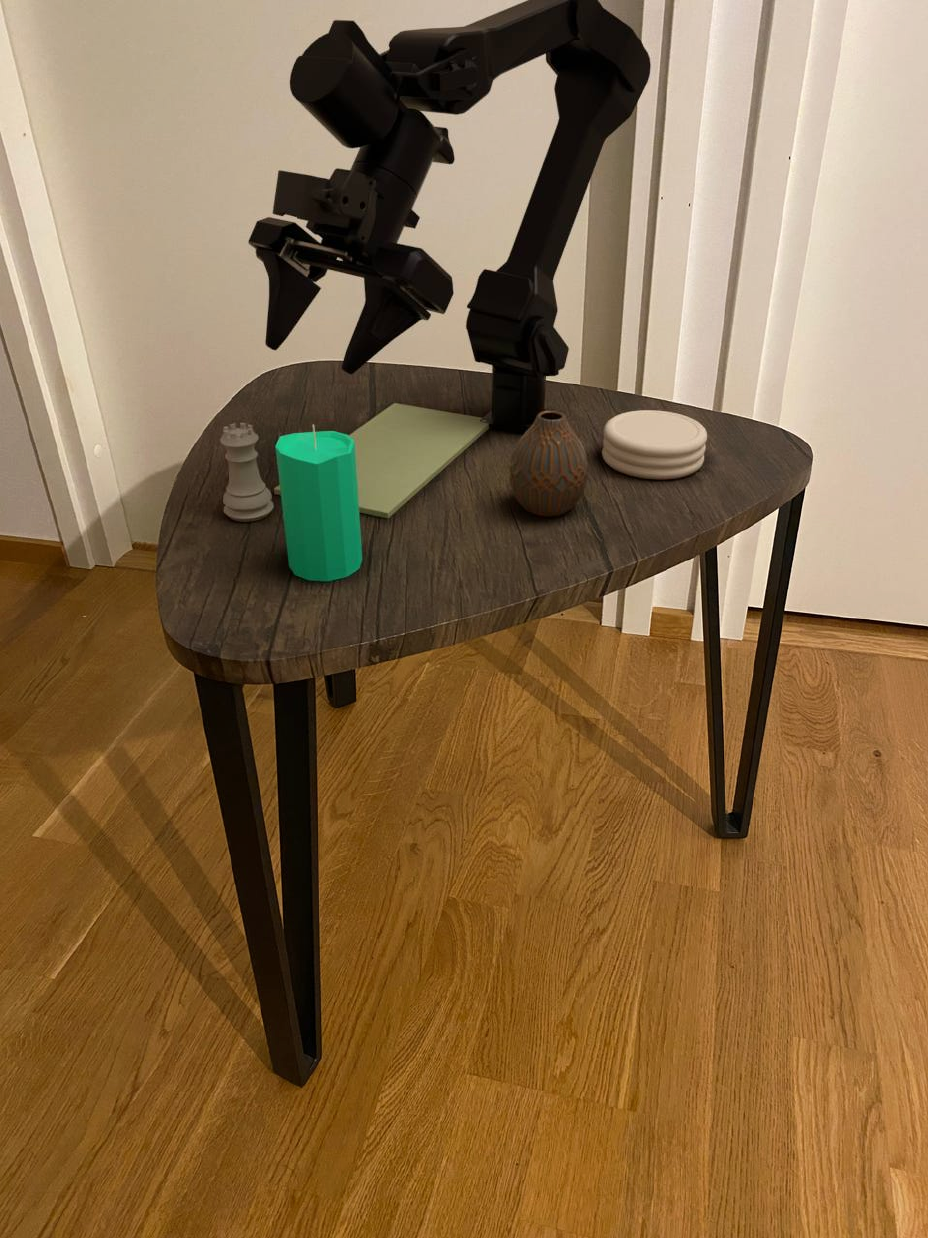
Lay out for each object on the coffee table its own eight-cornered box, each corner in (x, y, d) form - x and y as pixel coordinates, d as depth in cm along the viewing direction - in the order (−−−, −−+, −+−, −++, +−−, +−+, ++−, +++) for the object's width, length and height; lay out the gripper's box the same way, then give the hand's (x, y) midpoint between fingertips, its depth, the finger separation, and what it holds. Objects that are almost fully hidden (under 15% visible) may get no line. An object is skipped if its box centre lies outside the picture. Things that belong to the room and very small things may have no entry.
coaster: (593, 474, 95) (595, 440, 93) (610, 435, 103) (613, 403, 101) (698, 487, 92) (703, 452, 90) (707, 446, 100) (712, 414, 98)
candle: (275, 573, 79) (258, 434, 72) (310, 540, 84) (297, 405, 77) (342, 587, 77) (331, 445, 71) (374, 551, 82) (366, 415, 75)
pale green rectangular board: (394, 407, 109) (394, 402, 109) (493, 424, 105) (493, 419, 105) (274, 494, 91) (273, 488, 91) (388, 518, 87) (387, 512, 87)
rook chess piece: (230, 527, 86) (217, 441, 81) (219, 506, 89) (206, 423, 85) (279, 518, 87) (270, 433, 83) (267, 497, 91) (257, 415, 86)
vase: (580, 527, 86) (587, 433, 81) (502, 520, 87) (505, 426, 82) (588, 493, 91) (595, 403, 86) (515, 487, 92) (517, 398, 88)
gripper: (242, 111, 78) (164, 292, 78) (414, 131, 68) (323, 339, 68) (329, 190, 87) (259, 352, 88) (491, 218, 77) (411, 401, 78)
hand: (307, 359), depth 80 cm, fingers open, 9 cm apart
